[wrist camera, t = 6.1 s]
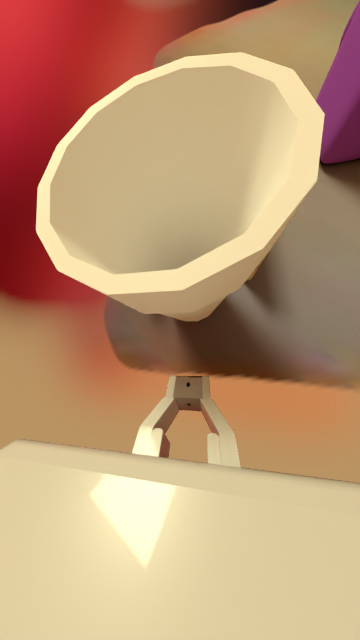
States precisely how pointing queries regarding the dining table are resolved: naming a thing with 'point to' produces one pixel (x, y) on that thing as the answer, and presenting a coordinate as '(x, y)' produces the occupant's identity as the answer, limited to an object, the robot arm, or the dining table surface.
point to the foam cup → (181, 182)
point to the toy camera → (342, 99)
